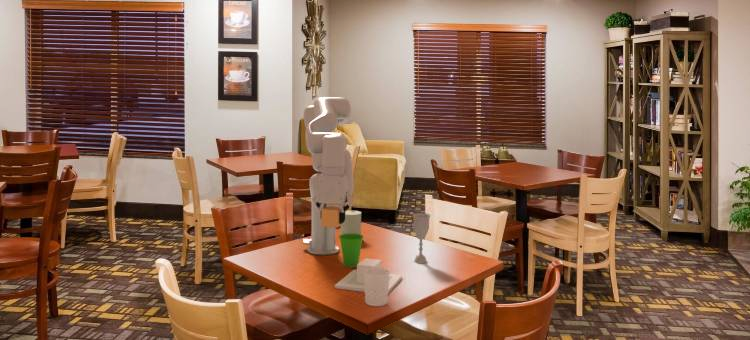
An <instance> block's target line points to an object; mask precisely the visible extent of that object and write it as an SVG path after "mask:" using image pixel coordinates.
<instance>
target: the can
mask: <svg viewBox="0 0 750 340" xmlns="http://www.w3.org/2000/svg"><path fill="white" fill-rule="evenodd" d="M348 233H354V234H360V235H362V211H359V210H352V209H351V210H350V209H349V210H347V211H345V221H344V224H343V225H341V226H340V233H339V234H340V235H342V234H348ZM340 235H339V236H340Z"/></svg>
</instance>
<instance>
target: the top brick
mask: <svg viewBox="0 0 750 340" xmlns="http://www.w3.org/2000/svg"><path fill="white" fill-rule="evenodd" d="M339 213H340V208H339V205H334V206H327V207H325V208H323V209H322V215H321V226H326V227H335V229H337V228H339V227H340V228H341V225H343V224H344V223H342V224H340V223H339Z"/></svg>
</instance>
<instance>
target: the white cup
mask: <svg viewBox="0 0 750 340" xmlns="http://www.w3.org/2000/svg"><path fill="white" fill-rule="evenodd" d="M389 274H391V271H390V270H389V269H387V268H383V267H381V268H368V269H365V270H364V288H365V292H364V300H365V301H364V302H365V304H366V305H368V306H371V307H382V306H386V305H387V303H388V297H389V296H388V294H389V293H388V288H389Z"/></svg>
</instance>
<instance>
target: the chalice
mask: <svg viewBox="0 0 750 340" xmlns="http://www.w3.org/2000/svg"><path fill="white" fill-rule="evenodd" d="M431 216H432V215H431V214H430V213H424V212H422V213H421V212H418V213H413V214H412V217H413V230H414V233H415V236H416V237H417V239H418V240H419V243H418V246H419V248H418V250H419V251H418V252H419V253H418V254H417V255H416V256H415V258H414V260H413V262H414V263H416V264H426V263H428V261H427V258H426V256H425V255H424V254H423V250H424V248H423V245H424V244H423V240H425V238H426V236H427V235H428V232H429V229H430V218H431Z"/></svg>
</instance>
